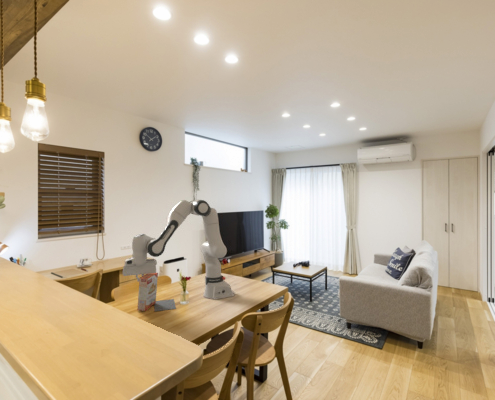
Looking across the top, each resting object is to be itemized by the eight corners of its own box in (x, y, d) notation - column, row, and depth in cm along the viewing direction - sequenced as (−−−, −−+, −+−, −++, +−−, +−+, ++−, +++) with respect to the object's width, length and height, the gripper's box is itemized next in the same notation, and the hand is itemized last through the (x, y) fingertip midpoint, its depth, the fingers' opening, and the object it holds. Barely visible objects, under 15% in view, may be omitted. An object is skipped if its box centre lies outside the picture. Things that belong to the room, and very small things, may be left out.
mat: (173, 299, 196) (173, 298, 196) (176, 308, 179) (176, 308, 179) (154, 301, 191) (154, 301, 191) (154, 311, 174) (154, 311, 174)
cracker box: (145, 311, 174) (147, 278, 173) (136, 310, 175) (138, 277, 174) (156, 303, 188) (158, 272, 187) (148, 301, 189) (149, 271, 188)
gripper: (156, 257, 186) (156, 278, 186) (123, 259, 180) (123, 281, 180) (156, 259, 180) (156, 280, 180) (122, 262, 174) (122, 284, 174)
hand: (139, 281), depth 180 cm, fingers closed
